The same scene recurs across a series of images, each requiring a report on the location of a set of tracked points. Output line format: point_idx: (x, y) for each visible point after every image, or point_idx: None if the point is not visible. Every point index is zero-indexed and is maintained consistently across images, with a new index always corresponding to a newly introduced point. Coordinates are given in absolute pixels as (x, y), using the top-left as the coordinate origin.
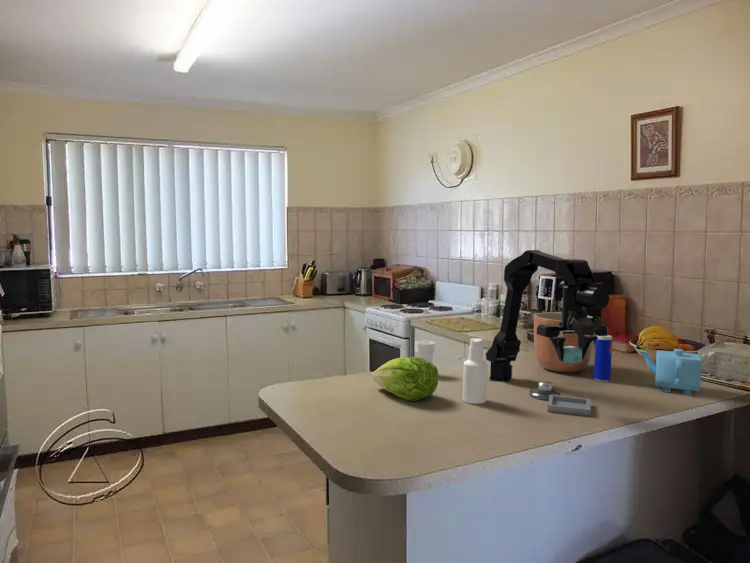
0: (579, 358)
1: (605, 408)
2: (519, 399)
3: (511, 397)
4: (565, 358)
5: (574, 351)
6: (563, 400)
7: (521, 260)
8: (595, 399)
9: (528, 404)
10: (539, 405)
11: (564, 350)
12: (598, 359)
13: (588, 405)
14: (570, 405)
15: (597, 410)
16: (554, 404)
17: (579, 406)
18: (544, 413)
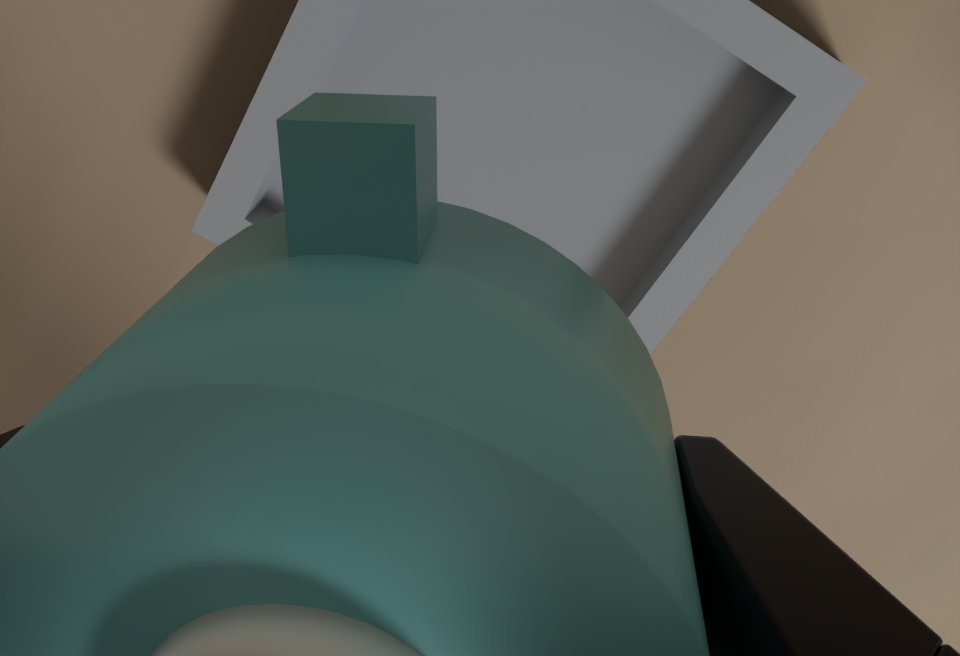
0: (316, 118)
1: (92, 69)
2: (862, 513)
3: (900, 580)
4: (657, 414)
5: (399, 380)
6: None
7: None
8: (73, 365)
9: (881, 354)
10: (780, 301)
11: (699, 637)
12: None
13: None
14: (475, 171)
15: (215, 15)
16: (640, 240)
17: None
18: (925, 15)
